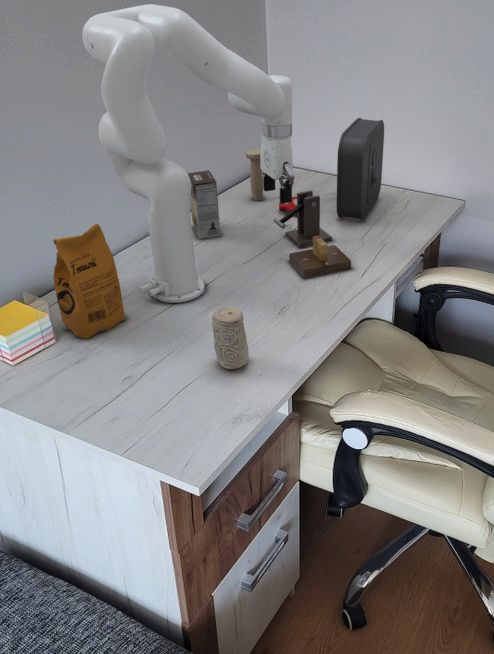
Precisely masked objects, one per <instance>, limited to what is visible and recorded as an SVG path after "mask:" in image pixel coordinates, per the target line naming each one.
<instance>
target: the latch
mask: <svg viewBox="0 0 494 654" xmlns="http://www.w3.org/2000/svg"><path fill="white" fill-rule="evenodd" d="M306 197H312V195H310V194H309V193H308V194H307V195H306V196H304V197H303V198H302V199H301V201H302V203H301V204H300V205H298V206H297V207H296V208H294V209H293V210H292V211H291V212H289V211H288V213H287V214H286V215H284V216H283V217H282V218H280V219H278V218H277V217H275V218H274V219H273V223H275V224H276V225H277V226H278V227H279V228H280V229H282V230H284V229H286V225H285V223H287V222H288V221H290V219H292V218H293V217H294V216H296V215H295V214H297V213H298V212H299V211H300V210H302V209H303V208H304V198H306Z"/></svg>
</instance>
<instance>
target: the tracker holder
mask: <svg viewBox="0 0 494 654" xmlns="http://www.w3.org/2000/svg"><path fill="white" fill-rule="evenodd" d="M300 192H302V191H300V190H299V191H298V193H300ZM296 207H297V196H292V202H289V203H284V204H281V203H280V202H279V203H278V209H279V211H282V212H284V211H287V212H288V213H289V212H291V211H292V210H293V209H294V208H296ZM294 216H297V214H295V215H294Z"/></svg>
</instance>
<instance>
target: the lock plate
mask: <svg viewBox="0 0 494 654" xmlns="http://www.w3.org/2000/svg"><path fill="white" fill-rule="evenodd" d="M288 255H289V256H288V257H289V258H288V259H289V263H290V264H291V266H293V268H294V269H295V270H296V271H297V273H298V274H300V276H301V278H303V279H304V280H305V279H309V278H314V277H319V276H325V275H329V274H334V273H341V272H344V271H349V270H352V260H351V259H350V258H349V256H347V255H346V254H345V253H344V252H343V251H342V250H341V249H340V248H339V247H338V246H337V245H336V244H332V245H328V258H327V261H322V262H321V261H320V260H319V259H318V258H317V257H316V256H315V255H314V254H313V248H311V249H306V250H300V251H294V252H290V253H289V254H288Z"/></svg>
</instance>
